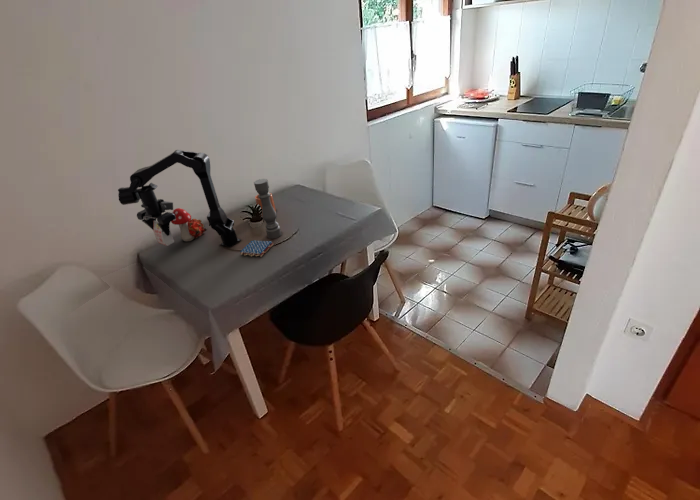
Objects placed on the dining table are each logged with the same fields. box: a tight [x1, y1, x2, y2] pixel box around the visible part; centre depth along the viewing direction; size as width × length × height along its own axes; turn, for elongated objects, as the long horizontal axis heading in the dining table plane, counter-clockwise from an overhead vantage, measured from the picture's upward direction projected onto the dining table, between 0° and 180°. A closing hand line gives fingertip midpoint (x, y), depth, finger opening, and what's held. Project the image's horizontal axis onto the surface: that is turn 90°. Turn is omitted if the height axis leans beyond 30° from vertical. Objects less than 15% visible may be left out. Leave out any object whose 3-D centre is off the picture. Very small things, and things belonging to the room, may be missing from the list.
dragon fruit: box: [187, 218, 207, 239], centre depth 190 cm, size 8×8×12 cm
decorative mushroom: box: [170, 207, 195, 242], centre depth 187 cm, size 10×9×15 cm
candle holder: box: [253, 178, 282, 240], centre depth 175 cm, size 6×6×25 cm
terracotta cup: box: [254, 192, 277, 213], centre depth 202 cm, size 8×8×9 cm
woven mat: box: [239, 239, 274, 258], centre depth 171 cm, size 10×11×2 cm
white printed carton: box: [152, 220, 175, 247], centre depth 176 cm, size 4×7×10 cm, turn 53°
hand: (163, 234), depth 177 cm, fingers closed on white printed carton, 7 cm apart
